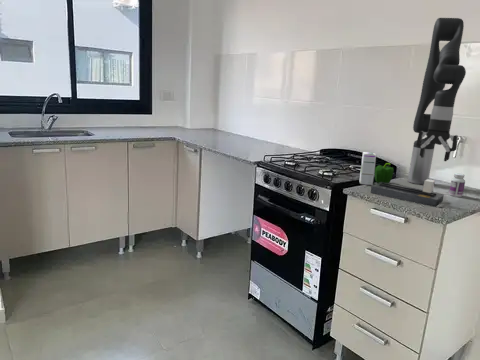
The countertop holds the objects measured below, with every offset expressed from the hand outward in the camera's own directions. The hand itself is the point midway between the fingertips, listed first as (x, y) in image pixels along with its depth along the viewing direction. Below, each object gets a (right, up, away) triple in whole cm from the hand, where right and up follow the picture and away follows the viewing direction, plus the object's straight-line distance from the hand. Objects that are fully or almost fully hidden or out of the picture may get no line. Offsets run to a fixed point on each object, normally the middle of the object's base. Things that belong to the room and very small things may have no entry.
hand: (433, 159), depth 156 cm
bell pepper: (-9, -10, +32) cm, 34 cm away
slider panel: (-7, -15, +9) cm, 19 cm away
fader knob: (-1, -14, +3) cm, 14 cm away
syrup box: (-18, -10, +28) cm, 35 cm away
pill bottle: (+18, -15, +16) cm, 28 cm away
